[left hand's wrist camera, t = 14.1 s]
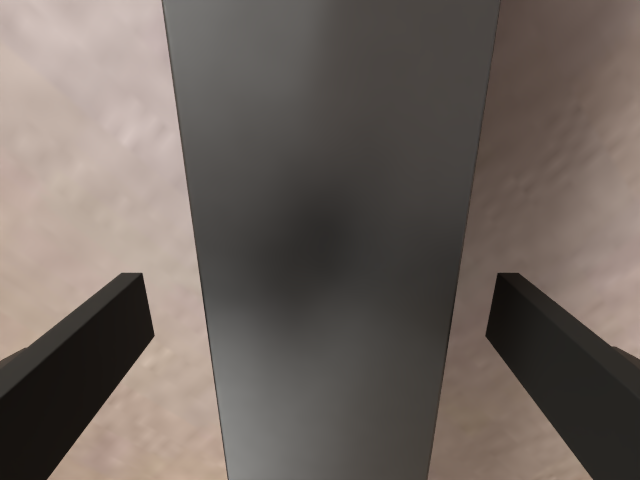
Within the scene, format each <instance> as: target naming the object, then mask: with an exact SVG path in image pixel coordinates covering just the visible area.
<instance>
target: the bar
mask: <svg viewBox="0 0 640 480" xmlns="http://www.w3.org/2000/svg"><path fill="white" fill-rule="evenodd" d="M500 3H501V0H162V7H163V14H164V21H165V28H166V36H167V43H168V50H169V57H170V65H171V72H172V79H173V86H174V93H175V101H176V108H177V115H178V122H179V130H180V137H181V144H182V151H183V159H184V166H185V173H186V180H187V187H188V195H189V202H190V209H191V216H192V224H193V231H194V238H195V245H196V253H197V260H198V267H199V274H200V282H201V289H202V296H203V303H204V310H205V318H206V325H207V332H208V339H209V347H210V354H211V361H212V368H213V376H214V383H215V390H216V397H217V404H218V412H219V419H220V426H221V433H222V441H223V448H224V455H225V462H226V470H227V477H228V480H427V479H428V472H429V466H430V459H431V453H432V446H433V440H434V433H435V427H436V420H437V414H438V407H439V400H440V394H441V387H442V381H443V374H444V368H445V361H446V355H447V348H448V342H449V335H450V329H451V322H452V316H453V309H454V303H455V296H456V290H457V283H458V277H459V270H460V264H461V257H462V251H463V244H464V238H465V231H466V224H467V218H468V211H469V205H470V198H471V192H472V185H473V179H474V172H475V166H476V159H477V153H478V146H479V140H480V133H481V127H482V120H483V114H484V107H485V101H486V94H487V88H488V81H489V75H490V68H491V61H492V55H493V48H494V42H495V35H496V29H497V22H498V16H499V9H500Z"/></svg>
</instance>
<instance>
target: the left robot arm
mask: <svg viewBox="0 0 640 480" xmlns="http://www.w3.org/2000/svg"><path fill="white" fill-rule="evenodd" d="M154 336H155V335H154V330H153V325H152V320H151V315H150V310H149V305H148V299H147V294H146V289H145V284H144V279H143V274H142V273H121V274H120V275H118V276H117V277H116V278H115V279H113V280H112V281H111V282H109V283H108V284H107V285H106V286H104V287H103V288H102V289H101V290H99V291H98V292H97V293H96V294H94V295H93V296H92V297H91V298H89V299H88V300H87V301H86V302H84V303H83V304H82V305H80V306H79V307H78V308H77V309H75V310H74V311H73V312H72V313H70V314H69V315H68V316H67V317H65V318H64V319H63V320H62V321H60V322H59V323H58V324H57V325H55V326H54V327H53V328H51V329H50V330H49V331H48V332H46V333H45V334H44V335H43V336H41V337H40V338H39V339H38V340H36V341H35V342H34V343H33V344H31V345H30V346H29V347H28V348H24V349H22V350H20V351H18V352H16V353H14V354H12V355H10V356H9V357H7V358H5V359H3V360H1V361H0V480H47V479H48V477H49V476H50V475H51V473H52V472H53V471H54V469H55V468H56V467H57V465H58V464H59V463H60V461H61V460H62V459H63V457H64V456H65V455H66V453H67V452H68V451H69V449H70V448H71V447H72V445H73V444H74V443H75V441H76V440H77V439H78V437H79V436H80V435H81V433H82V432H83V431H84V429H85V428H86V427H87V425H88V424H89V423H90V421H91V420H92V419H93V417H94V416H95V415H96V413H97V412H98V411H99V409H100V408H101V407H102V405H103V404H104V403H105V401H106V400H107V399H108V397H109V396H110V395H111V393H112V392H113V391H114V389H115V388H116V387H117V385H118V384H119V383H120V381H121V380H122V379H123V377H124V376H125V375H126V373H127V372H128V371H129V369H130V368H131V367H132V365H133V364H134V363H135V361H136V360H137V359H138V357H139V356H140V355H141V353H142V352H143V351H144V349H145V348H146V347H147V345H148V344H149V343H150V341H151V340H152V339H153V337H154ZM485 336H486V337H487V339H488V340H489V341H490V343H491V344H492V345H493V347H494V348H495V349H496V351H497V352H498V353H499V355H500V356H501V357H502V359H503V360H504V361H505V363H506V364H507V365H508V367H509V368H510V369H511V371H512V372H513V373H514V375H515V376H516V377H517V379H518V380H519V381H520V383H521V384H522V385H523V387H524V388H525V389H526V391H527V392H528V393H529V395H530V396H531V397H532V399H533V400H534V401H535V403H536V404H537V405H538V407H539V408H540V409H541V411H542V412H543V413H544V415H545V416H546V417H547V419H548V420H549V421H550V423H551V424H552V425H553V427H554V428H555V429H556V431H557V432H558V433H559V435H560V436H561V437H562V439H563V440H564V441H565V443H566V444H567V445H568V447H569V448H570V449H571V451H572V452H573V453H574V455H575V456H576V457H577V459H578V460H579V461H580V463H581V464H582V465H583V467H584V468H585V469H586V471H587V472H588V473H589V475H590V476H591V477H592V479H593V480H640V359H638V358H636V357H634V356H632V355H630V354H629V353H627V352H625V351H623V350H621V349H619V348H617V347H611V346H610V345H609V344H607V343H606V342H605V341H604V340H602V339H601V338H600V337H599V336H597V335H596V334H595V333H594V332H592V331H591V330H590V329H589V328H587V327H586V326H585V325H583V324H582V323H581V322H580V321H578V320H577V319H576V318H575V317H573V316H572V315H571V314H570V313H568V312H567V311H566V310H565V309H563V308H562V307H561V306H560V305H558V304H557V303H556V302H554V301H553V300H552V299H551V298H549V297H548V296H547V295H546V294H544V293H543V292H542V291H541V290H539V289H538V288H537V287H536V286H534V285H533V284H532V283H531V282H529V281H528V280H527V279H525V278H524V277H523V276H522V275H520V274H519V273H498V274H497V279H496V284H495V289H494V294H493V299H492V305H491V310H490V315H489V320H488V325H487V330H486V335H485Z"/></svg>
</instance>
